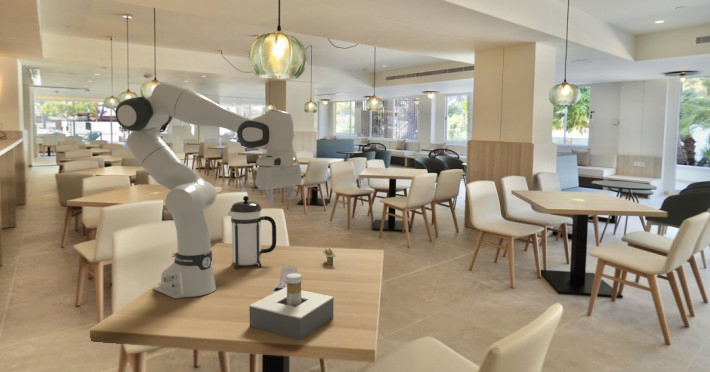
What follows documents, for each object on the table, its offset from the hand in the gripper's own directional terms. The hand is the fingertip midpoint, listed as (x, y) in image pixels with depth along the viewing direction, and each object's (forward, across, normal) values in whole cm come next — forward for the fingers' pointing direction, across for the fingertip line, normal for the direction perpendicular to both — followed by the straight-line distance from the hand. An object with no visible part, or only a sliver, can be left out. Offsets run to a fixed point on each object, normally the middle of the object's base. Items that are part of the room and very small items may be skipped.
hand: (280, 200), depth 149 cm
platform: (+35, -45, -8) cm, 58 cm away
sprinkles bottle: (+33, +13, +14) cm, 38 cm away
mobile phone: (+35, -6, -4) cm, 35 cm away
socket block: (+34, +13, +14) cm, 39 cm away
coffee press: (+34, -26, -36) cm, 56 cm away
